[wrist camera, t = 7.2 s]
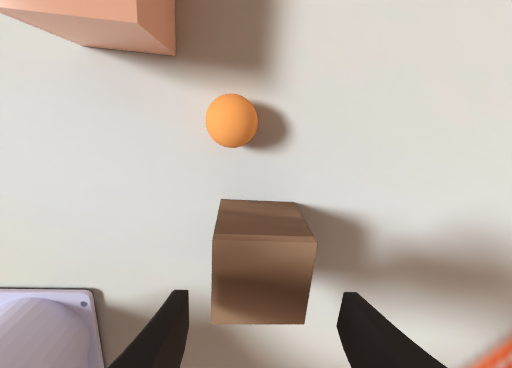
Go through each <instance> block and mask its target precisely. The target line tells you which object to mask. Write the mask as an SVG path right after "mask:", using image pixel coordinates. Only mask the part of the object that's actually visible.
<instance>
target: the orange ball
mask: <svg viewBox="0 0 512 368" xmlns="http://www.w3.org/2000/svg"><path fill="white" fill-rule="evenodd" d="M257 126H258V117H257V113H256V110H255V108H254V106H253V105H252V104H251V103H250V102H249V101H248V100H247V99H246V98H244V97H242V96H240V95H237V94H225V95H222V96H220V97H218V98H216V99H215V100H214V101H213V102H212V103H211V104H210V106H209V108H208V110H207V113H206V127H207V130H208V133H209V134H210V136H211V137H212V139H213V140H214V141H215V142H217V143H218V144H220V145H222V146H224V147H229V148H236V147H240V146H243V145H245V144H246V143H248V142H249V141H250V140H251V139H252V138H253V136H254V135H255V133H256V130H257Z"/></svg>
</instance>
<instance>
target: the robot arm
mask: <svg viewBox="0 0 512 368" xmlns="http://www.w3.org/2000/svg"><path fill="white" fill-rule="evenodd" d="M84 301H85V302H84ZM86 302H87V303H86ZM188 328H189V297H188V290H174V291H173V292H172V293H171V294H170V296H169V297H168V298H167V300H166V301H165V303H164V304H163V305H162V307H161V308H160V309H159V310H158V312H157V313H156V314H155V316H154V317H153V318H152V319H151V320H150V322H149V323H148V324H147V325H146V327H145V328H144V329H143V330H142V331H141V333H140V334H139V335H138V336H137V337H136V338H135V339H134V340H133V341H132V343H131V344H130V345H129V346H128V347H127V348H126V349H125V350H124V351H123V353H122V354H121V355H120V356H119V357H118V358H117V359H116V360H115V361H114V362H113V363H112V364H111V365H110V366H109V367H108V368H180V364H181V361H182V357H183V354H184V350H185V344H186V339H187V334H188ZM337 329H338V333H339V336H340V339H341V343H342V346H343V349H344V351H345V354H346V356H347V358H348V361H349V363H350V365H351V368H447V367H446V366H444V365H443V364H442V363H440V362H439V361H437V360H436V359H435V358H433V357H432V356H431V355H429V354H428V353H427V352H426V351H424V350H423V349H422V348H421V347H419V346H418V345H417V344H416V343H414V342H413V341H412V340H411V339H409V338H408V337H407V336H406V335H405V334H403V333H402V332H401V331H400V330H399V329H397V328H396V327H395V326H394V325H393V324H392V323H391V322H389V321H388V320H387V319H386V318H385V317H384V316H383V315H382V314H380V313H379V312H378V311H377V310H376V309H375V308H374V307H373V306H371V305H370V304H369V303H368V302H367V301H366V300H365V299H364V298H362V297H361V296H360V295H359V294H358V293H357V292H344V294H343V298H342V303H341V308H340V312H339V317H338V322H337ZM0 368H104V363H103V356H102V350H101V344H100V337H99V331H98V325H97V318H96V312H95V306H94V299H93V294H92V293H91V292H90V291H88V290H58V289H0Z"/></svg>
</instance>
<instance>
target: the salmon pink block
mask: <svg viewBox="0 0 512 368" xmlns="http://www.w3.org/2000/svg"><path fill="white" fill-rule="evenodd" d="M0 13H2V14H5V15H7V16H9V17H12V18H14V19H17V20H19V21H22V22H24V23H27V24H29V25H32V26H34V27H37V28H39V29H42V30H44V31H46V32H49V33H51V34H54V35H56V36H59V37H61V38H64V39H66V40H69V41H71V42H74V43H76V44H78V45H81V46H88V47H98V48H107V49H117V50H126V51H135V52H145V53H154V54H164V55H173V56H176V23H175V0H0Z"/></svg>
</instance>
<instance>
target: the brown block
mask: <svg viewBox="0 0 512 368" xmlns="http://www.w3.org/2000/svg"><path fill="white" fill-rule="evenodd" d="M316 249H317V241H316V239H315V238H314V236H313V234H312V233H311V231H310V229H309V227H308V226H307V224H306V222H305V221H304V219H303V217H302V215H301V214H300V212H299V210H298V209H297V207H296V205H295V203H294V202H275V201H251V200H227V199H221V202H220V206H219V211H218V216H217V221H216V225H215V230H214V235H213V240H212V292H211V324H304V323H305V316H306V310H307V304H308V298H309V292H310V286H311V280H312V274H313V268H314V261H315V255H316Z"/></svg>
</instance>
